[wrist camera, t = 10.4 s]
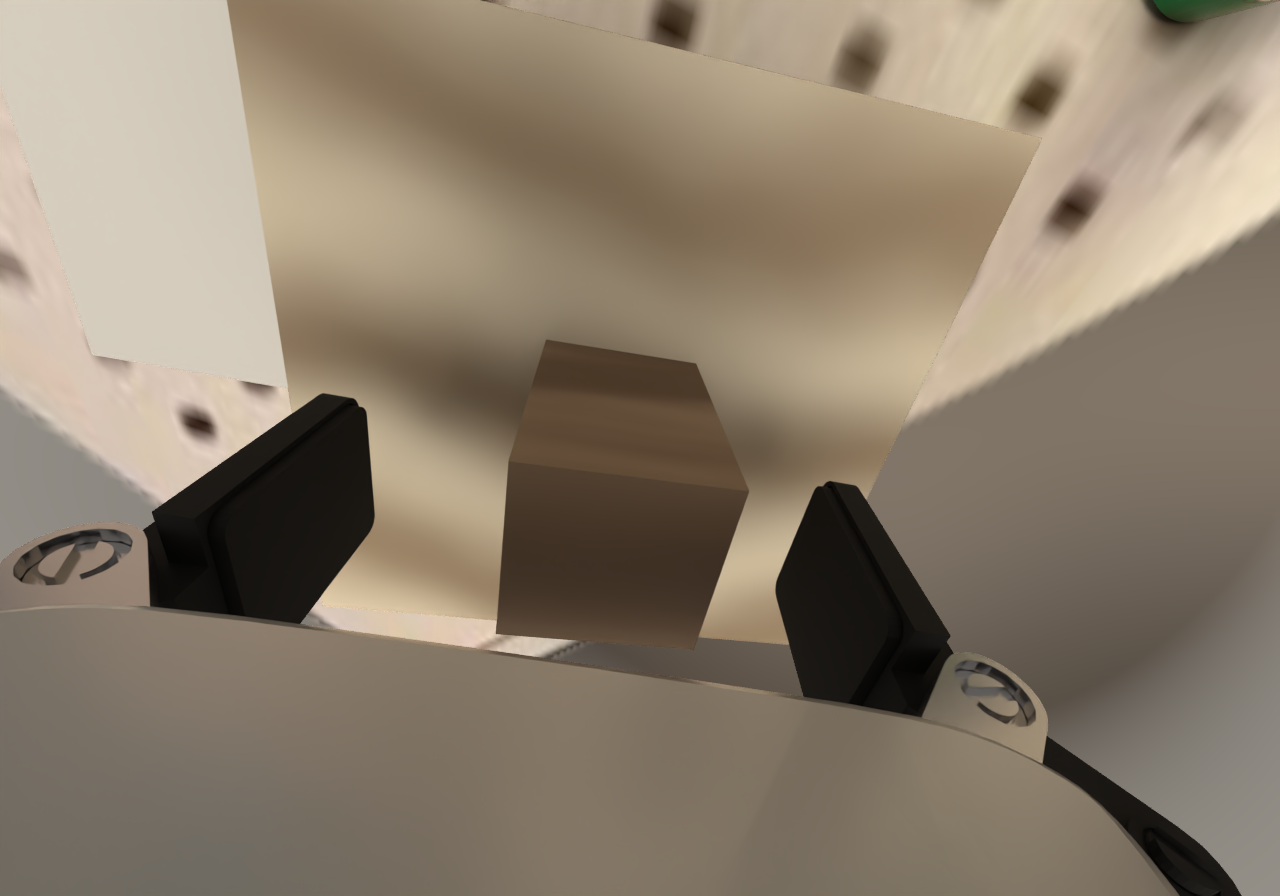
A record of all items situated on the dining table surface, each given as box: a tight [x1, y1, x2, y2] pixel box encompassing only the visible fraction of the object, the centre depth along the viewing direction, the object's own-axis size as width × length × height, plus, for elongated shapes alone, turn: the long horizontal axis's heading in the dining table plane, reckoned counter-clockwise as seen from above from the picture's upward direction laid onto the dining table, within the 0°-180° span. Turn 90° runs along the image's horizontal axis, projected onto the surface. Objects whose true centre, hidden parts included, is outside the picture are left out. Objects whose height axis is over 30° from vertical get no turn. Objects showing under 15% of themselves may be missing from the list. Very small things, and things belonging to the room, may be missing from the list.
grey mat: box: [0, 0, 288, 389], centre depth 27 cm, size 21×21×1 cm
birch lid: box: [227, 0, 1042, 650], centre depth 13 cm, size 17×17×7 cm
